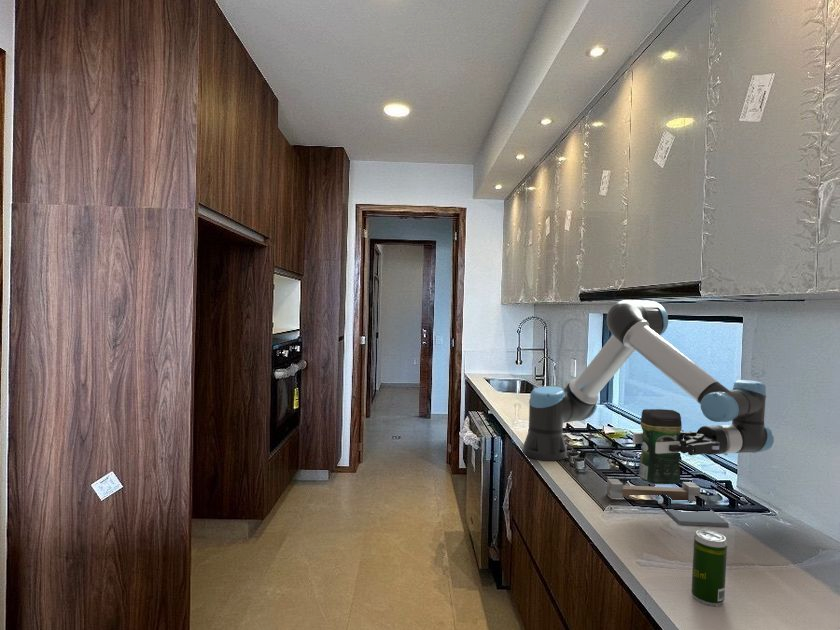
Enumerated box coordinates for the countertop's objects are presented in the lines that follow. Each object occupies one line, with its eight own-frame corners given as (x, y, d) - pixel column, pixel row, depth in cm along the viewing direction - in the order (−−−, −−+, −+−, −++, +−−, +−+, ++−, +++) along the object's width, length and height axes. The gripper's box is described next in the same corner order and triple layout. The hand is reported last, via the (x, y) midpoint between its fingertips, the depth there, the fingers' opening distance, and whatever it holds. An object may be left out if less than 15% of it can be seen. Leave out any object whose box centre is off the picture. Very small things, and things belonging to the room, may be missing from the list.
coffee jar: (670, 476, 143) (673, 407, 142) (684, 486, 135) (687, 413, 134) (633, 474, 143) (636, 405, 142) (645, 485, 135) (649, 412, 134)
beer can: (728, 599, 99) (731, 536, 99) (717, 610, 96) (721, 544, 95) (697, 587, 103) (700, 526, 103) (686, 597, 99) (689, 534, 99)
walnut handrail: (606, 494, 151) (607, 478, 151) (692, 498, 151) (693, 482, 151) (611, 499, 147) (612, 483, 147) (699, 503, 147) (700, 487, 147)
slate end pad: (657, 503, 146) (657, 501, 145) (702, 505, 145) (702, 502, 145) (679, 524, 133) (679, 521, 132) (728, 526, 132) (728, 523, 132)
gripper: (750, 465, 133) (673, 470, 127) (688, 442, 153) (619, 446, 148) (751, 435, 133) (674, 439, 127) (689, 417, 153) (620, 419, 147)
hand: (644, 443), depth 137 cm, fingers closed on coffee jar, 8 cm apart
